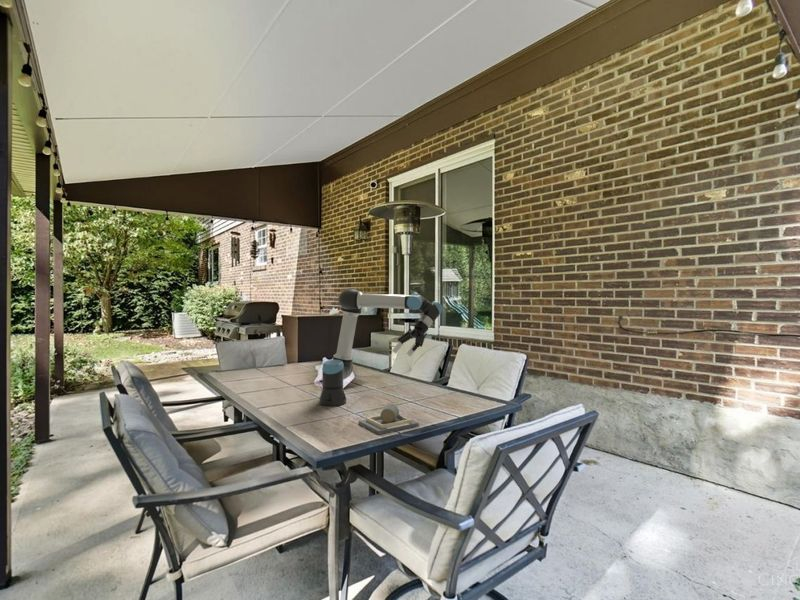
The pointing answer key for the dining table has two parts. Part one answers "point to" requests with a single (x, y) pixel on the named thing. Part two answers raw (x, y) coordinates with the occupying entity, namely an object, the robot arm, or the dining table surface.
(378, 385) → the dining table surface
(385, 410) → the ceramic mug
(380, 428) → the charcoal pocket board
